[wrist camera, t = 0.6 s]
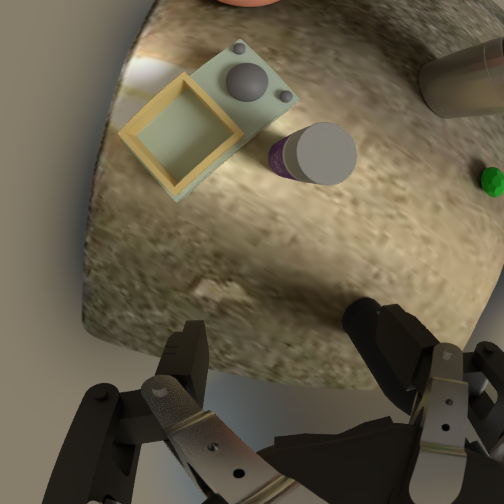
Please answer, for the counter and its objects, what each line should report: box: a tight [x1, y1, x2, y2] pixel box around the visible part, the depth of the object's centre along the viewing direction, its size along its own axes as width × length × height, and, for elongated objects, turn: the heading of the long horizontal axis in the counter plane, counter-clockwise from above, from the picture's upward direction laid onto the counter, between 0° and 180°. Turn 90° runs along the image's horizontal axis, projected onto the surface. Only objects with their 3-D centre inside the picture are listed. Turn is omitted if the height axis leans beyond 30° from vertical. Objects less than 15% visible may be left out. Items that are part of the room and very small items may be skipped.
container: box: [268, 122, 357, 185], centre depth 25 cm, size 5×5×15 cm
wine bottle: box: [342, 298, 489, 457], centre depth 25 cm, size 6×6×30 cm
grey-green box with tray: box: [117, 39, 299, 203], centre depth 26 cm, size 16×9×9 cm, turn 131°
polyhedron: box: [481, 167, 504, 197], centre depth 32 cm, size 5×5×5 cm
